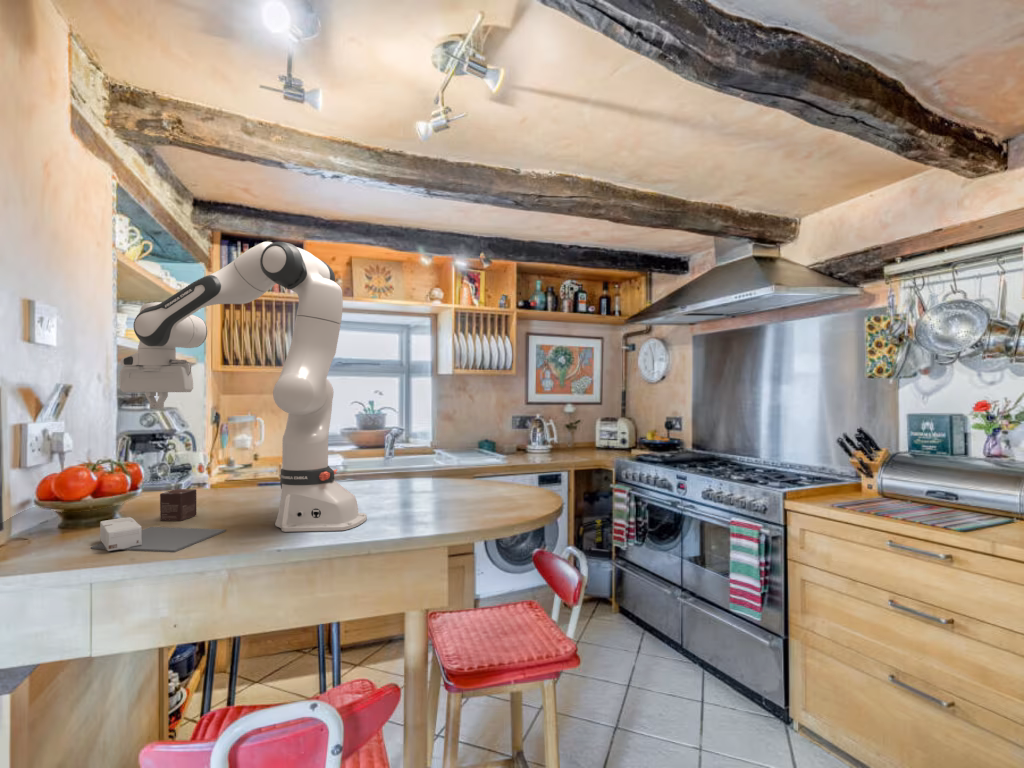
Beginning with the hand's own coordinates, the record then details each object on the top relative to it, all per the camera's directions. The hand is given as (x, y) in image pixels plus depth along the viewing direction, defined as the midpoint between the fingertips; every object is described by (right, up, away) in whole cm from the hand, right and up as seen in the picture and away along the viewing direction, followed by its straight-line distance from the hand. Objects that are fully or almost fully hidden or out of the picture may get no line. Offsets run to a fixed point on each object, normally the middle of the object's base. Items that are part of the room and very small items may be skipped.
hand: (156, 408), depth 144 cm
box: (+11, -29, -8) cm, 32 cm away
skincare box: (+9, -27, -26) cm, 38 cm away
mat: (+20, -29, -27) cm, 44 cm away
